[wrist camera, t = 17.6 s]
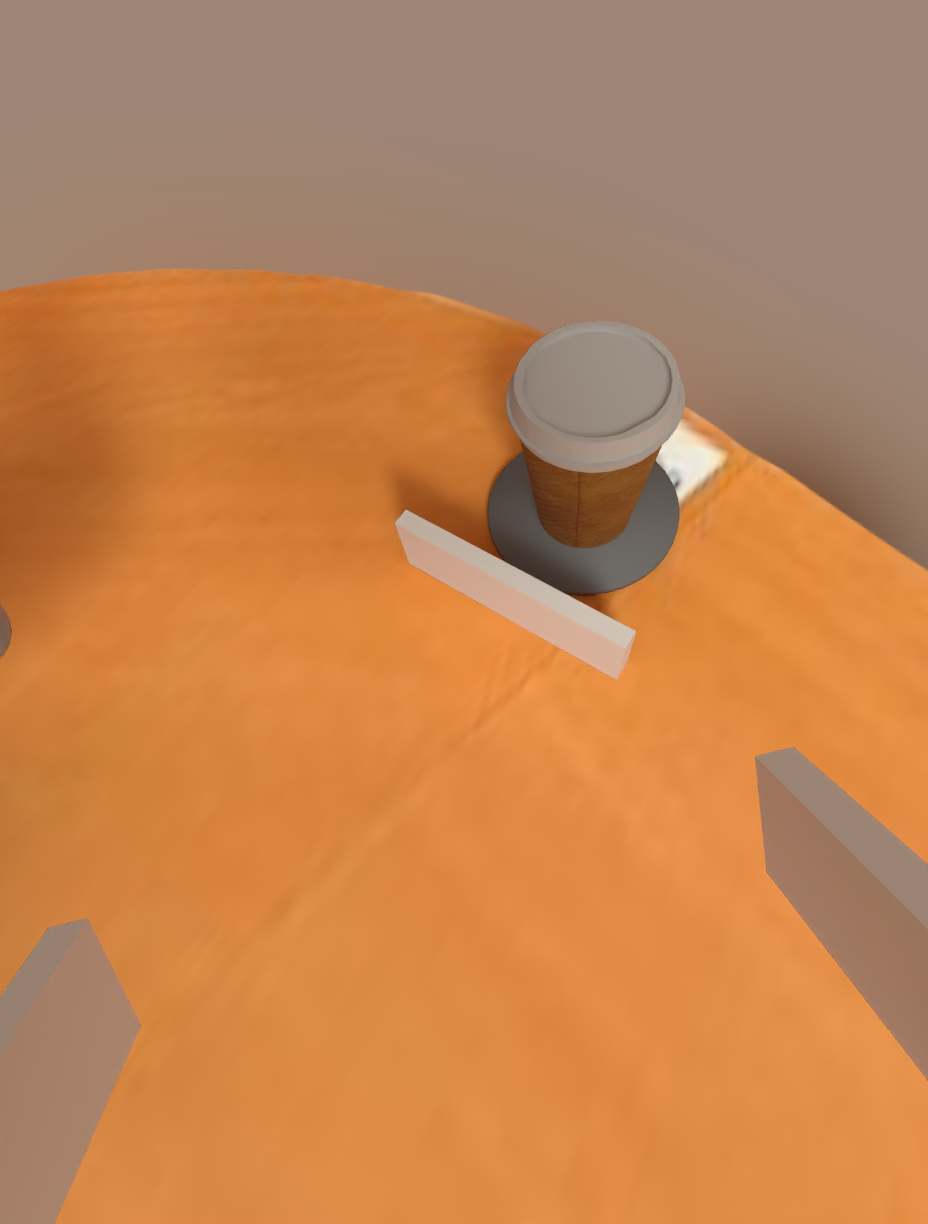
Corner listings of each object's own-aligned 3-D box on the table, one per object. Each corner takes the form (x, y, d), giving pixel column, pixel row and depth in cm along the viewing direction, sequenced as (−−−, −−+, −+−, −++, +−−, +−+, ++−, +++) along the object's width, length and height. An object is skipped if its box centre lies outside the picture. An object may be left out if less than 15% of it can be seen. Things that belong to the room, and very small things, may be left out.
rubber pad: (452, 540, 46) (451, 536, 45) (549, 414, 50) (549, 409, 49) (619, 629, 42) (620, 625, 41) (711, 483, 46) (712, 479, 45)
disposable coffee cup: (568, 434, 48) (574, 291, 37) (682, 496, 45) (725, 359, 34) (486, 522, 46) (467, 397, 35) (600, 596, 42) (619, 482, 31)
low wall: (409, 563, 45) (394, 523, 41) (419, 550, 46) (406, 509, 41) (616, 680, 40) (625, 648, 36) (626, 664, 40) (636, 631, 36)
